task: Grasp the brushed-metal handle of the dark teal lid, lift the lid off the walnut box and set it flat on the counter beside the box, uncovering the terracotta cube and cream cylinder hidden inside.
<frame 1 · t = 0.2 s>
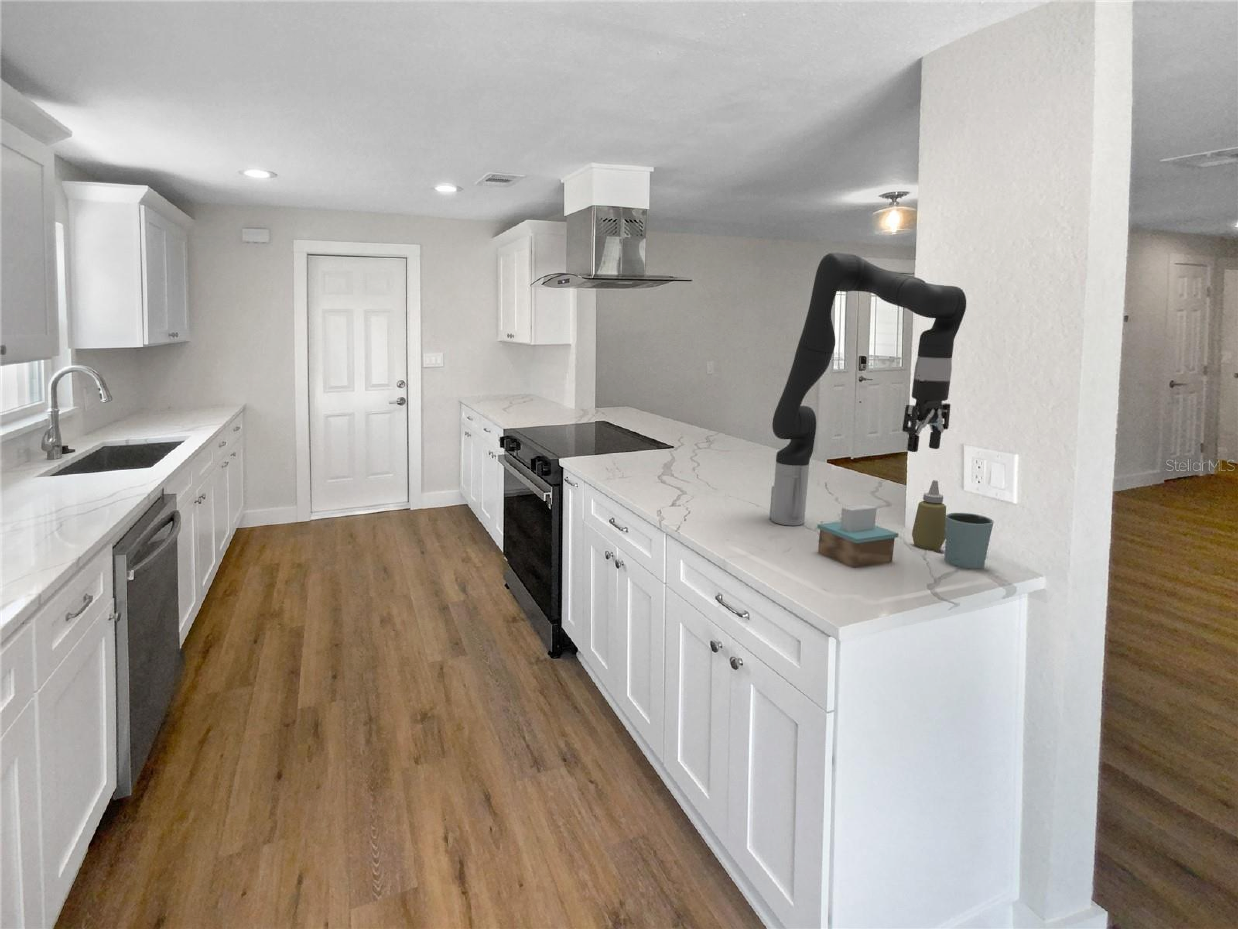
hand: (923, 450, 162), 28 cm above the worktop, fingers open, 8 cm apart
lid: (856, 536, 171), point 6 cm above the worktop, touching walnut box
cream cylinder: (870, 558, 171), point 1 cm above the worktop, touching walnut box
grey-blue cup: (963, 567, 171), on the worktop
walnut box: (854, 560, 172), on the worktop
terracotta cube: (841, 555, 173), point 1 cm above the worktop, touching walnut box
squeeze bottle: (926, 550, 184), on the worktop
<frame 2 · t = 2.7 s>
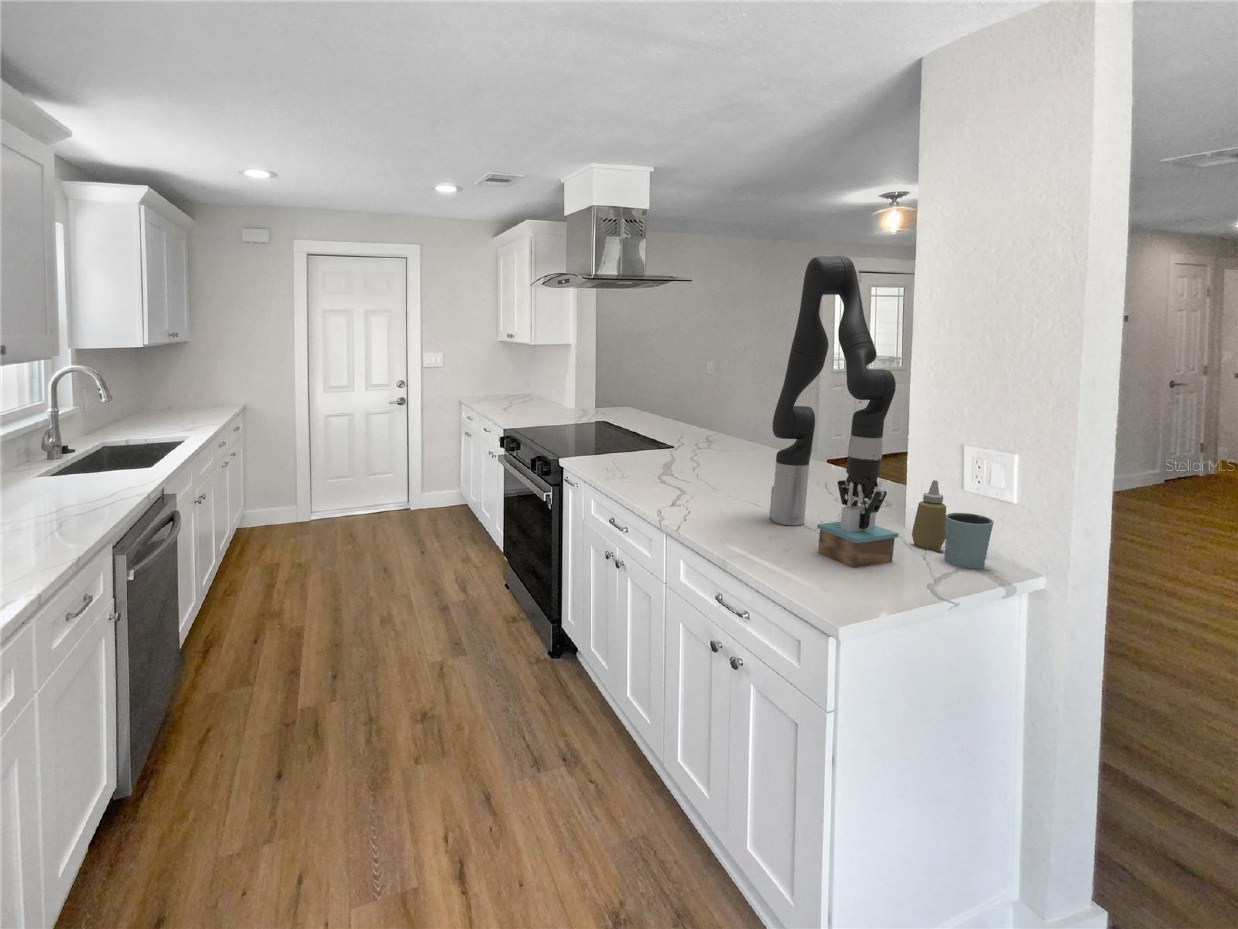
hand: (857, 526, 171), 9 cm above the worktop, fingers closed on lid, 3 cm apart
lid: (856, 536, 171), point 6 cm above the worktop, touching gripper, walnut box
everything else where it was.
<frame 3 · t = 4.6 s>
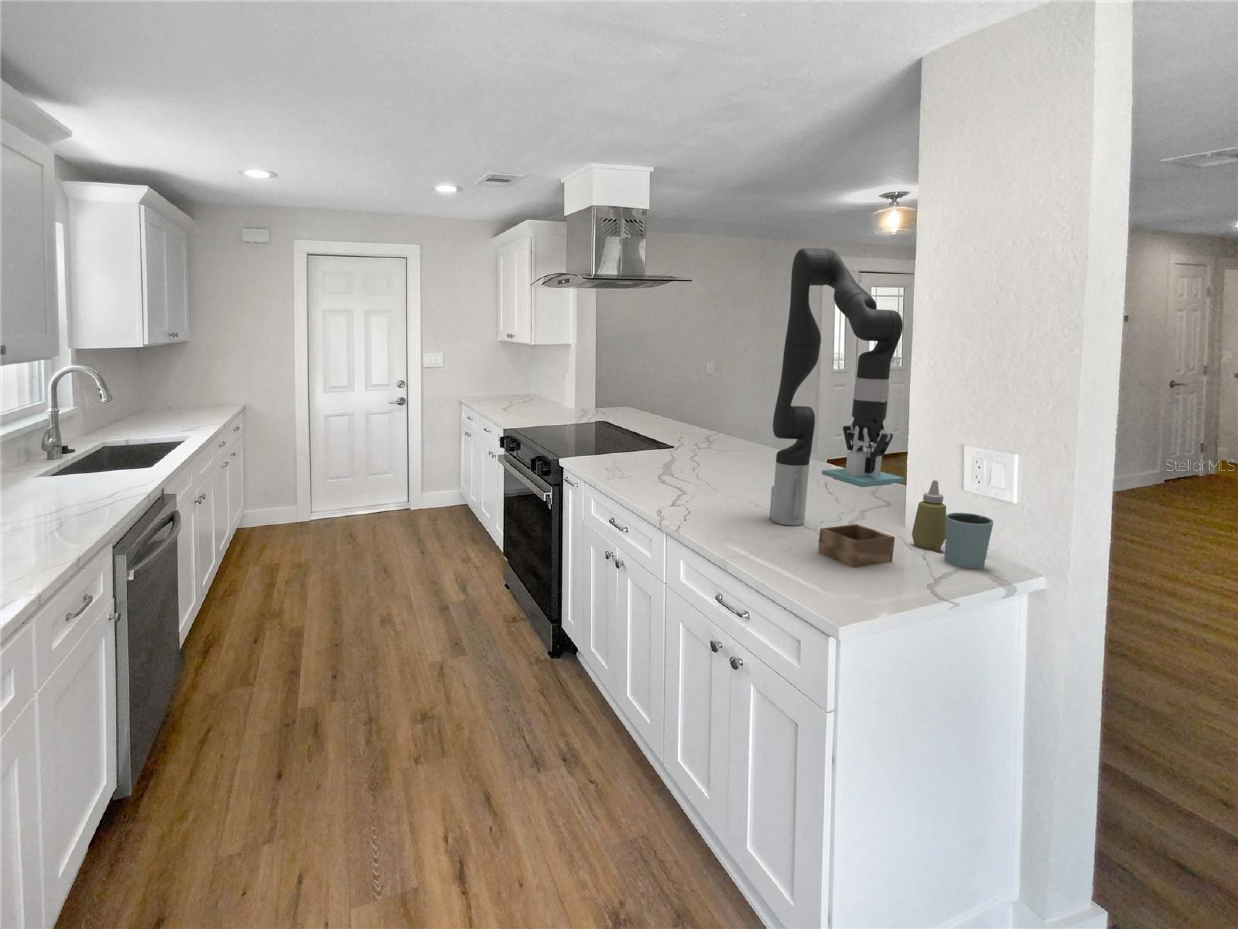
hand: (863, 471, 168), 22 cm above the worktop, fingers closed on lid, 3 cm apart
lid: (861, 481, 169), point 20 cm above the worktop, touching gripper
everything else where it was.
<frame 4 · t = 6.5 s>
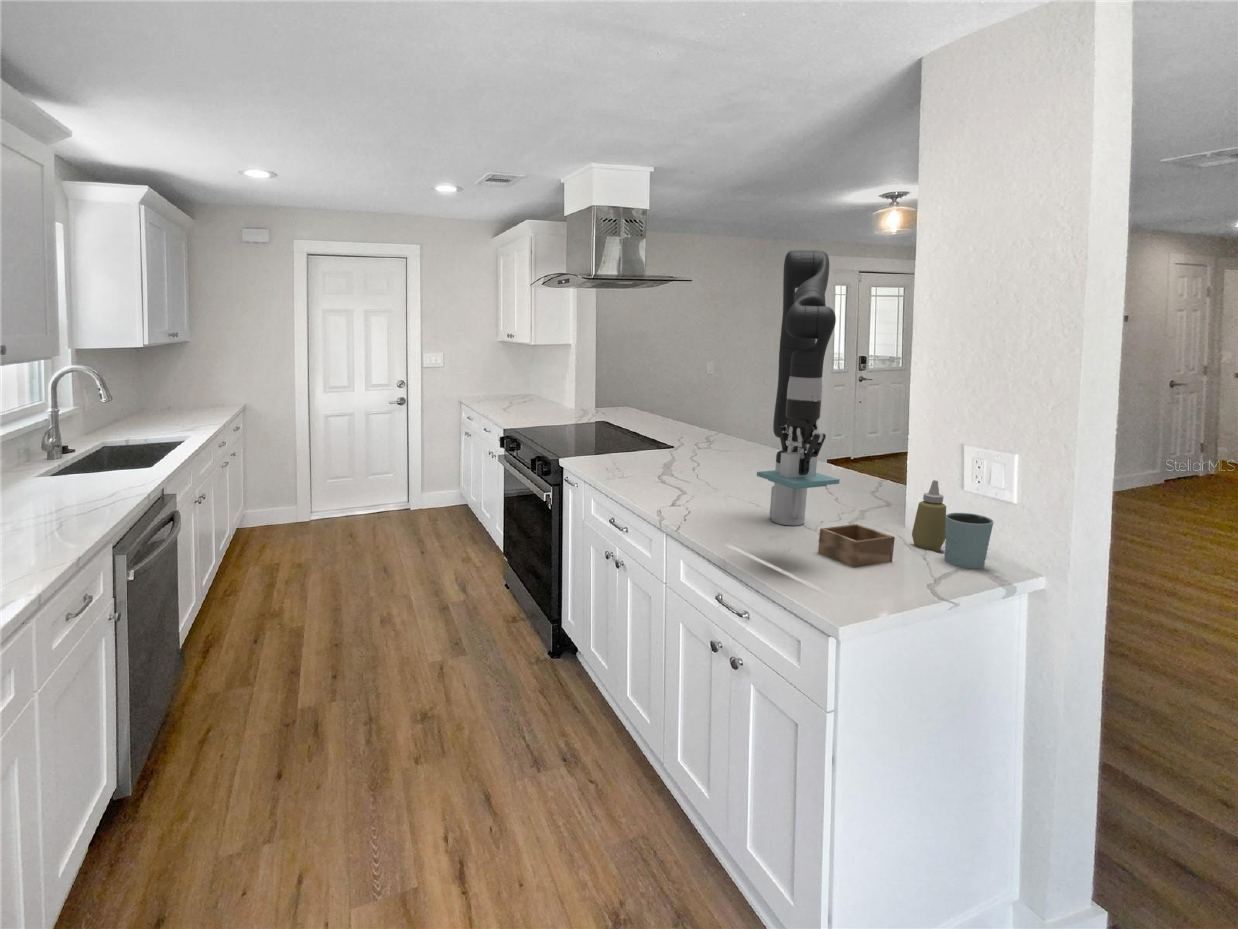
hand: (797, 472, 163), 22 cm above the worktop, fingers closed on lid, 3 cm apart
lid: (796, 483, 164), point 20 cm above the worktop, touching gripper
everything else where it was.
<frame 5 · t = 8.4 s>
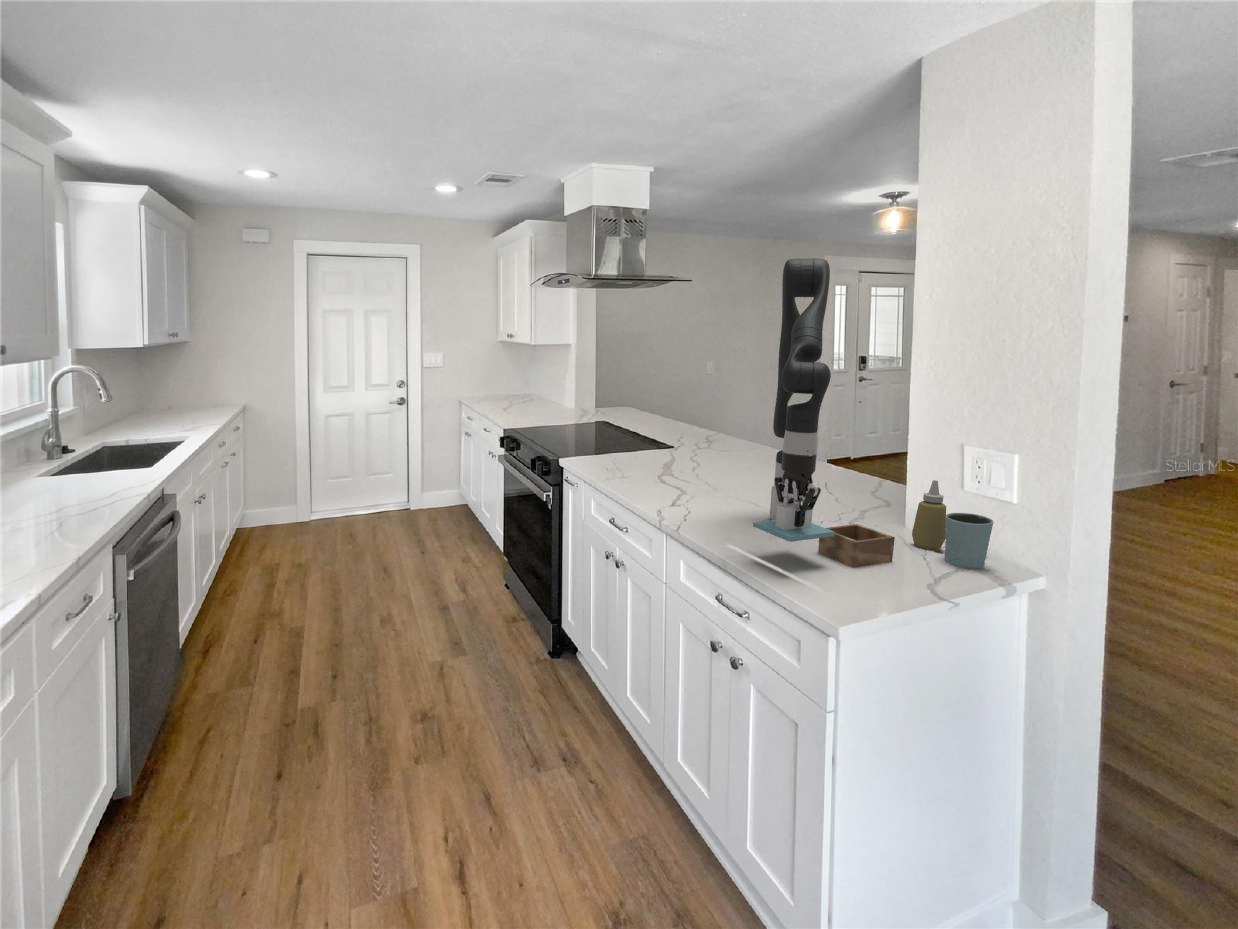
hand: (793, 524, 165), 10 cm above the worktop, fingers closed on lid, 3 cm apart
lid: (792, 534, 166), point 8 cm above the worktop, touching gripper
everything else where it was.
when the fingers open (4 cm above the worktop, at t = 9.9 s): lid drops 2 cm, on the worktop.
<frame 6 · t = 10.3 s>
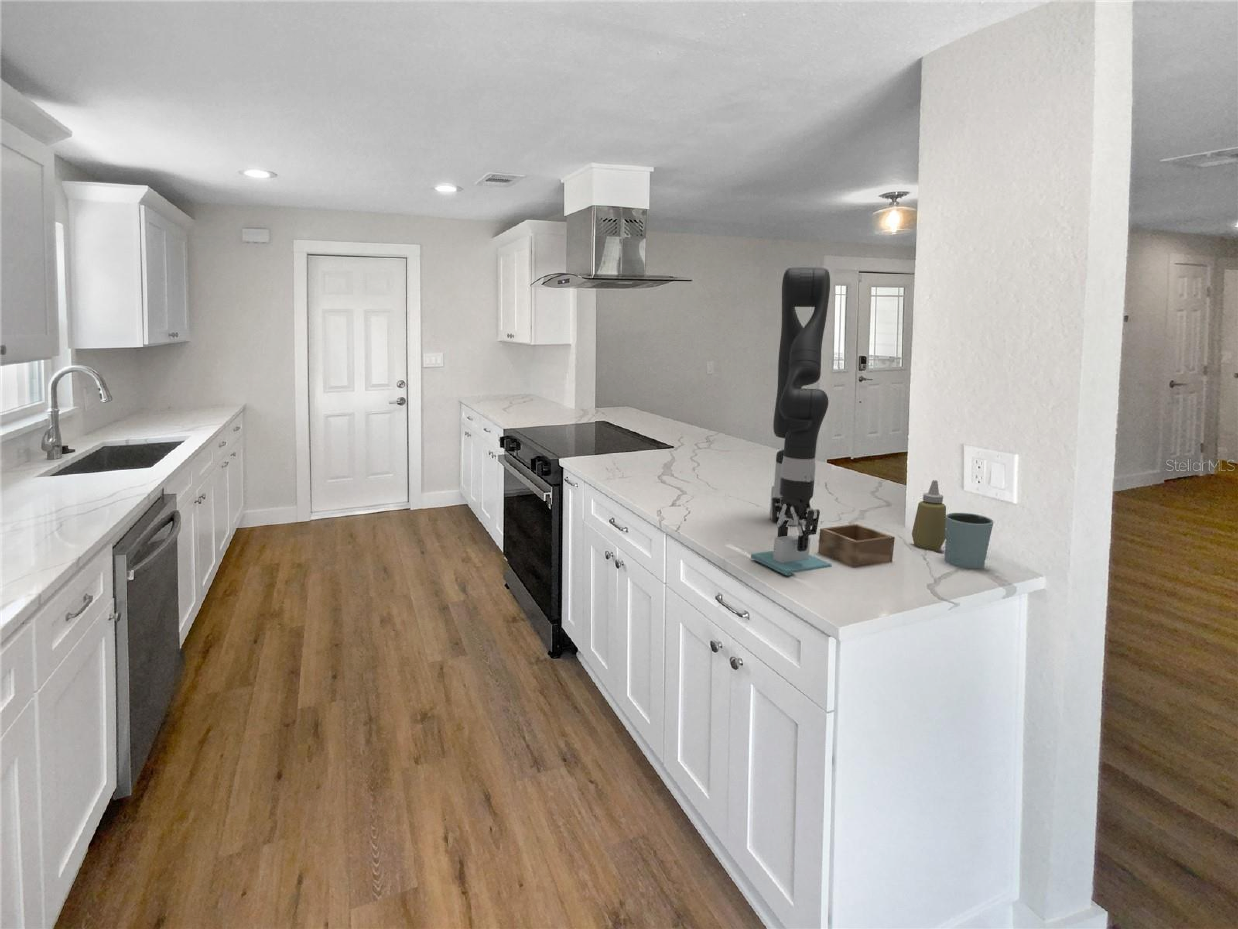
hand: (791, 546, 167), 5 cm above the worktop, fingers open, 6 cm apart
lid: (790, 566, 168), on the worktop
everything else where it was.
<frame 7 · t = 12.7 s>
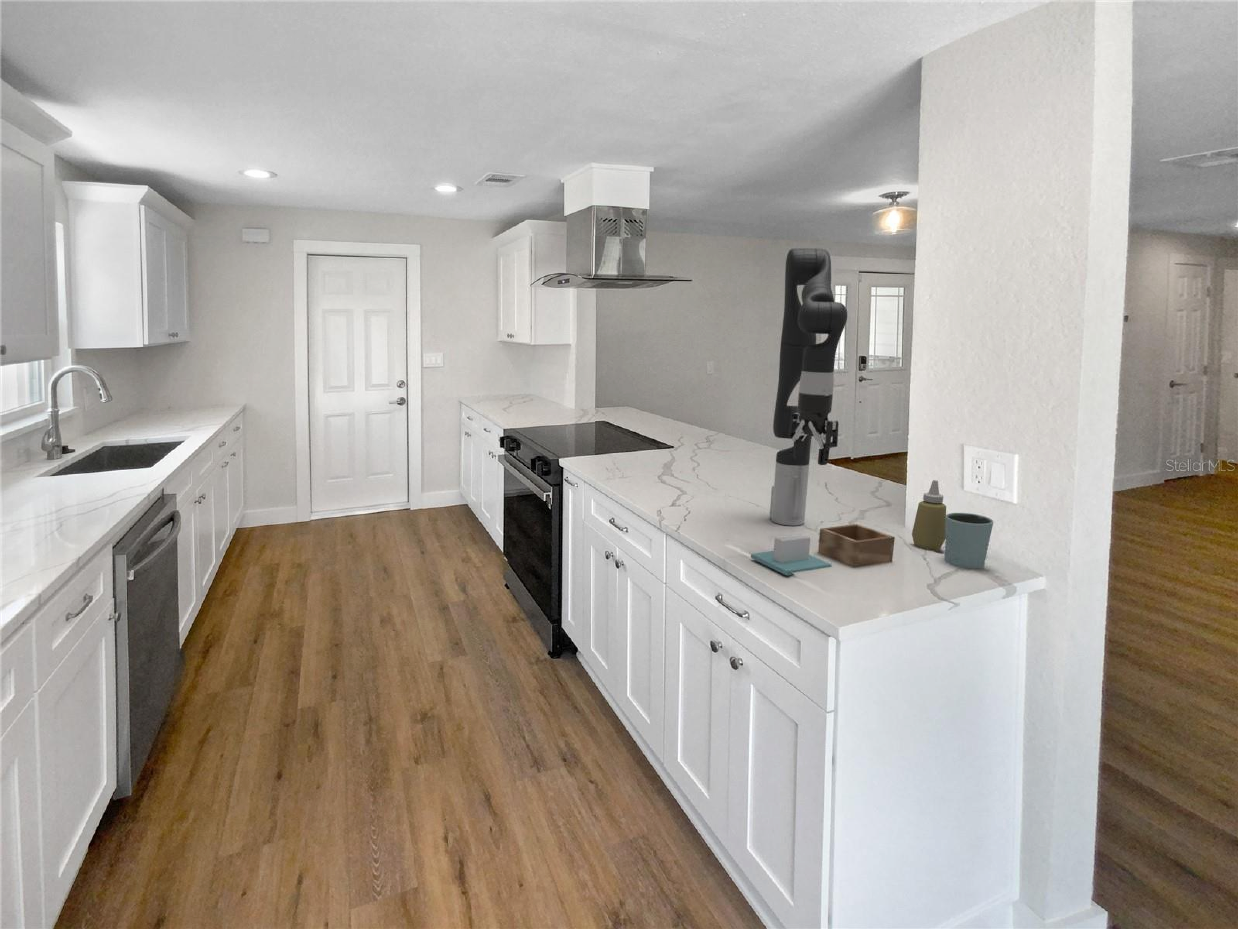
hand: (809, 460, 167), 24 cm above the worktop, fingers open, 8 cm apart
nothing on the worktop moved.
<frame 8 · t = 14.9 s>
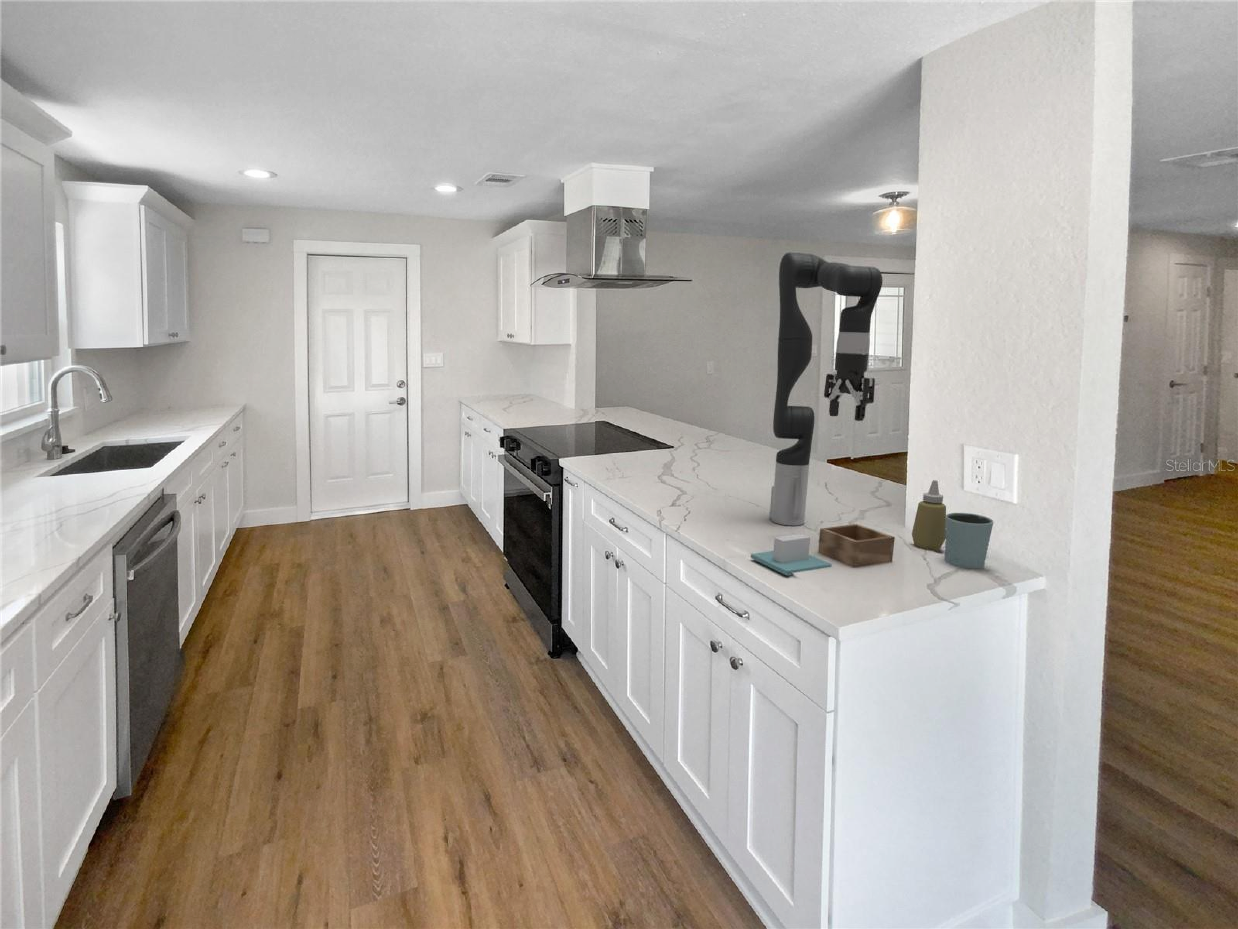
hand: (846, 418, 176), 33 cm above the worktop, fingers open, 8 cm apart
nothing on the worktop moved.
at the end: lid inside the target area (0.1 cm from its centre), on the worktop; lid tilted 0°; the gripper is holding nothing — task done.
